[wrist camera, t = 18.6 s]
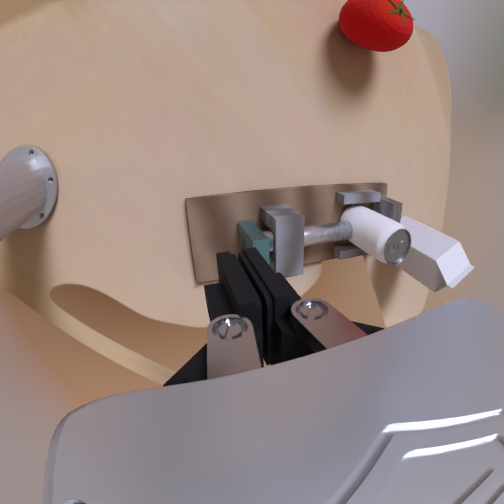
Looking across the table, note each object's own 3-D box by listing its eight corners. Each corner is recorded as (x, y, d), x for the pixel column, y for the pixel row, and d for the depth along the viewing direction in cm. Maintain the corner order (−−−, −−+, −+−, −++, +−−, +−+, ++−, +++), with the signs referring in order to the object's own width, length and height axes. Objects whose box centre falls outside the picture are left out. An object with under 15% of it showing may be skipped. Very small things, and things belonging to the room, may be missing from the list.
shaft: (239, 253, 42) (254, 277, 35) (237, 221, 40) (253, 241, 33) (337, 238, 46) (364, 256, 39) (339, 209, 44) (368, 224, 37)
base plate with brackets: (196, 279, 44) (202, 306, 37) (185, 198, 38) (188, 212, 31) (376, 247, 52) (402, 263, 45) (383, 182, 46) (413, 192, 40)
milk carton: (380, 229, 50) (453, 271, 34) (404, 215, 51) (476, 250, 34) (384, 258, 54) (449, 304, 37) (407, 243, 54) (472, 282, 38)
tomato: (361, 69, 37) (414, 59, 26) (314, 27, 32) (361, 1, 21) (384, 34, 35) (434, 22, 23) (343, -5, 30) (388, -29, 19)
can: (366, 235, 48) (410, 262, 38) (337, 242, 47) (379, 272, 36) (367, 201, 46) (415, 222, 35) (337, 206, 44) (384, 230, 34)
